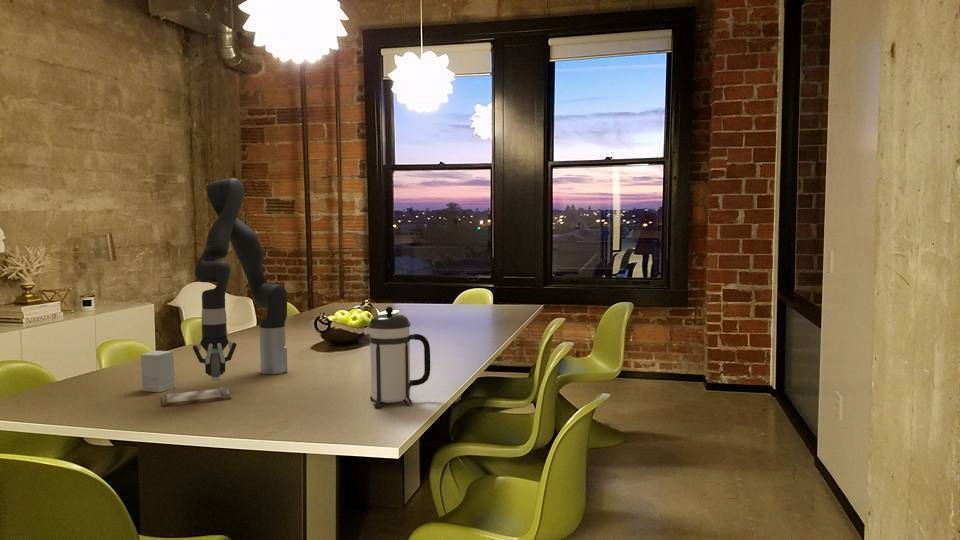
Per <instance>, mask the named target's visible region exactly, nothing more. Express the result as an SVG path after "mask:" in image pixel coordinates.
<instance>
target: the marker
mask: <svg viewBox="0 0 960 540" xmlns="http://www.w3.org/2000/svg"><path fill="white" fill-rule="evenodd" d="M209 363H210V375H209V376H210V377H211V381H213V382H218V381H220V378H221V377H220V376H221V375H222V374H221V358H220V354H219V350H218V348H216V349H212V352H211V357H210V361H209Z"/></svg>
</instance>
